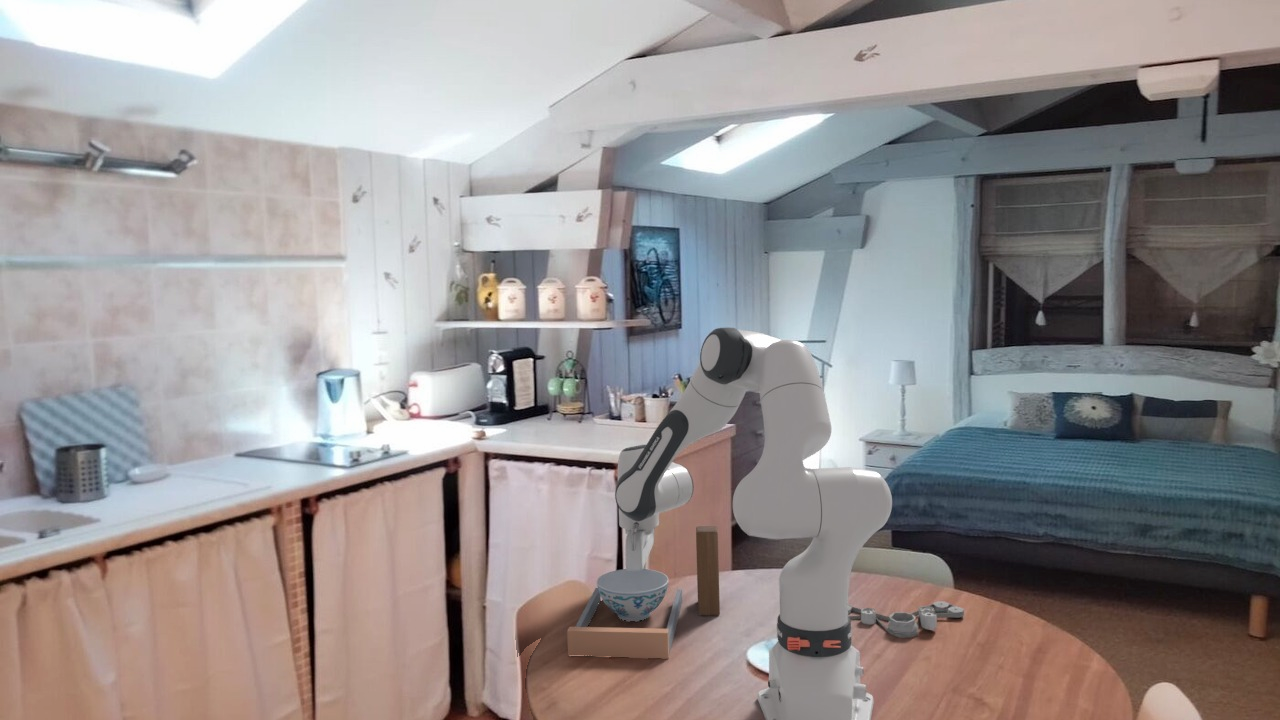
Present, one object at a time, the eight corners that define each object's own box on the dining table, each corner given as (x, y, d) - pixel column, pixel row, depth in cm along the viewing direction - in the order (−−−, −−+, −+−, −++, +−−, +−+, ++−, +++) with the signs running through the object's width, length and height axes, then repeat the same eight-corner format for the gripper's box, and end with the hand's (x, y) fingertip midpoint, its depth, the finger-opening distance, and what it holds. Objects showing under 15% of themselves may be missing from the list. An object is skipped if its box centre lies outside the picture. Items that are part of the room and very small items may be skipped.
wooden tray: (668, 659, 169) (667, 633, 169) (568, 656, 172) (567, 630, 171) (682, 602, 198) (681, 580, 197) (596, 601, 200) (595, 579, 200)
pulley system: (979, 643, 174) (958, 609, 189) (978, 620, 173) (958, 588, 188) (834, 647, 177) (825, 614, 192) (833, 624, 176) (824, 593, 191)
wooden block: (698, 600, 199) (696, 520, 197) (719, 600, 198) (717, 519, 197) (698, 616, 190) (695, 531, 188) (719, 616, 189) (717, 531, 188)
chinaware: (586, 611, 194) (585, 576, 194) (648, 598, 201) (647, 564, 200) (617, 635, 181) (616, 597, 180) (682, 620, 188) (681, 583, 187)
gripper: (647, 530, 191) (649, 594, 192) (658, 505, 211) (660, 564, 212) (617, 530, 191) (619, 594, 193) (631, 505, 212) (633, 563, 213)
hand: (641, 578), depth 202 cm, fingers closed
